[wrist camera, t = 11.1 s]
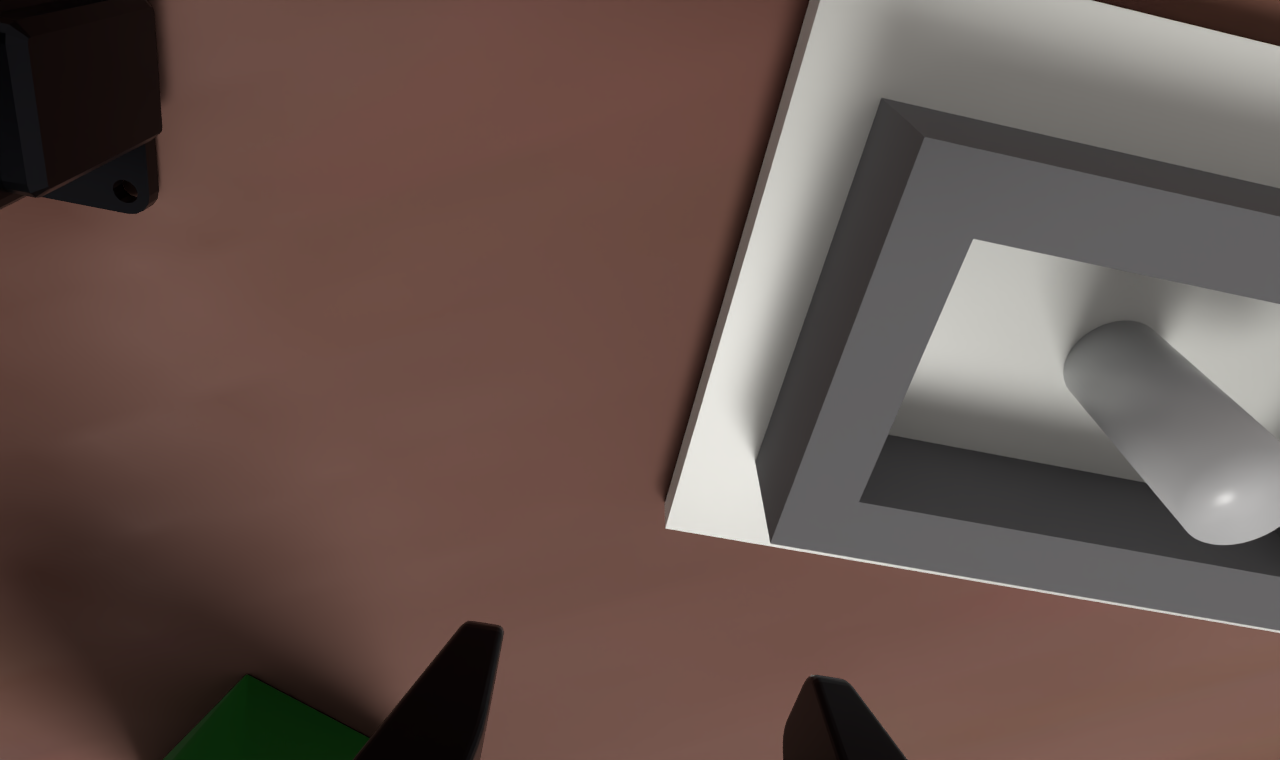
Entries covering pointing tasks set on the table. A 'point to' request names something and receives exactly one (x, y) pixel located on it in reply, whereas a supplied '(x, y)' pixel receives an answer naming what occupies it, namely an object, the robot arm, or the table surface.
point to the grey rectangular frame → (905, 319)
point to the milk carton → (266, 729)
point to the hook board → (1015, 264)
